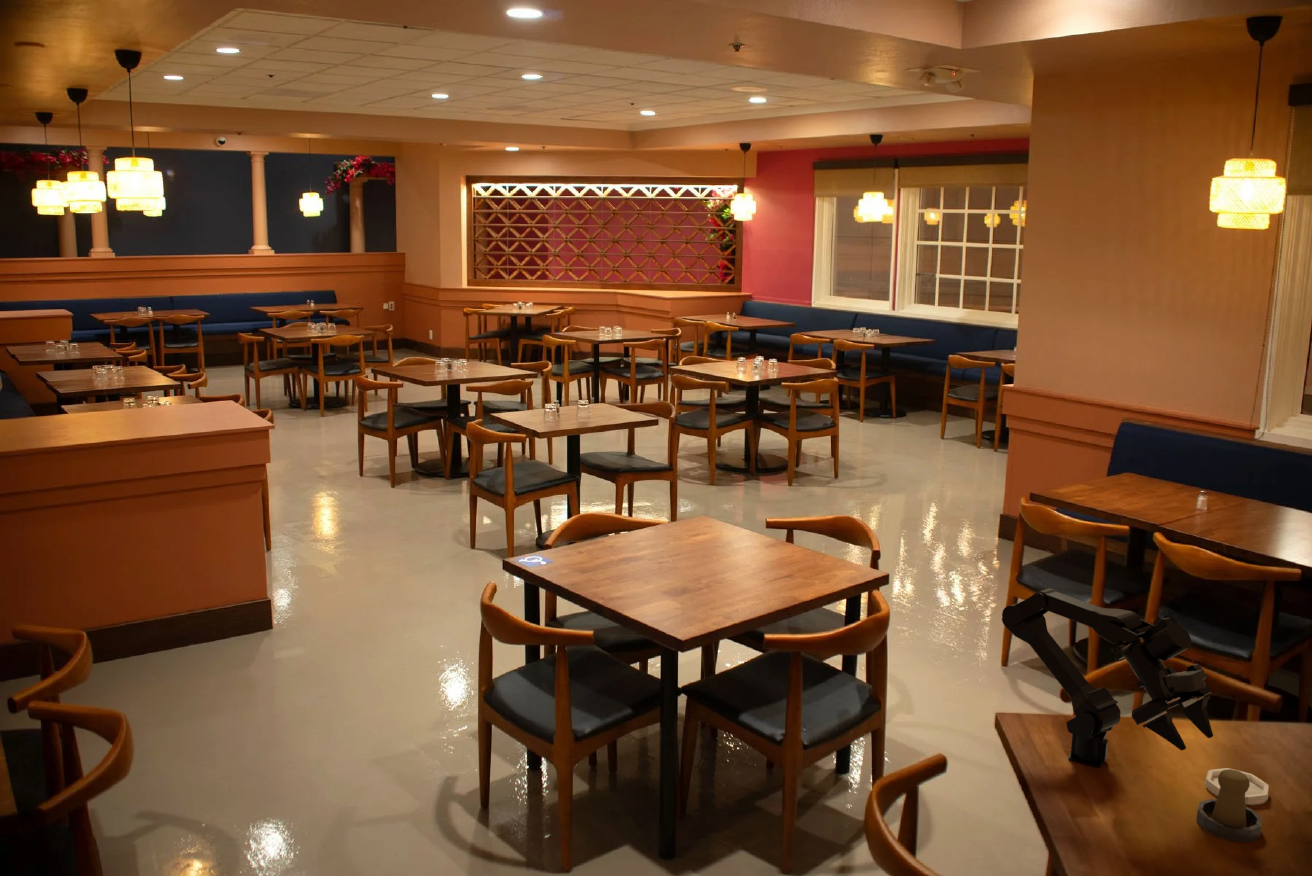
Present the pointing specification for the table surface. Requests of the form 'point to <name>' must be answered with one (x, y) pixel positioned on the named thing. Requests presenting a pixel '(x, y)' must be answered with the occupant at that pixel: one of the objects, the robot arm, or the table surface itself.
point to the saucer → (1255, 791)
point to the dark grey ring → (1225, 830)
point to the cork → (1231, 798)
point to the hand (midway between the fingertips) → (1197, 743)
